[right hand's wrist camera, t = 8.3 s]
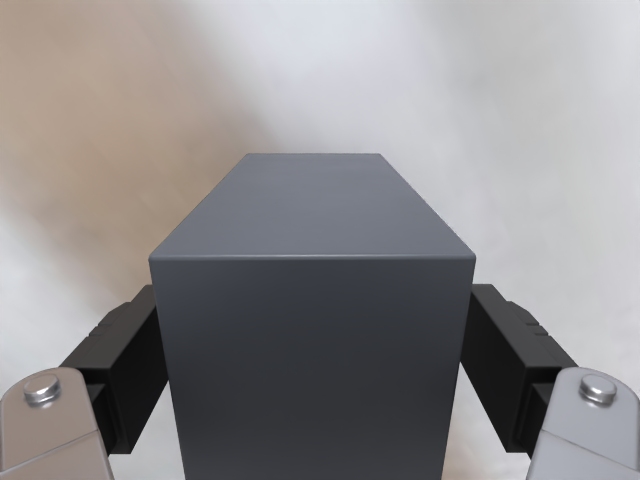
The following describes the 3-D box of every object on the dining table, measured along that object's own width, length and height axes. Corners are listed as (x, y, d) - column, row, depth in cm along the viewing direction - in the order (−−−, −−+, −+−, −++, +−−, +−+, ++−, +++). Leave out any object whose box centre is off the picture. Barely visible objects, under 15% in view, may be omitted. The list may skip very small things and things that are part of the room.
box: (246, 153, 17) (145, 256, 7) (380, 153, 17) (479, 254, 7) (270, 534, 26) (242, 825, 16) (359, 533, 26) (387, 822, 16)
